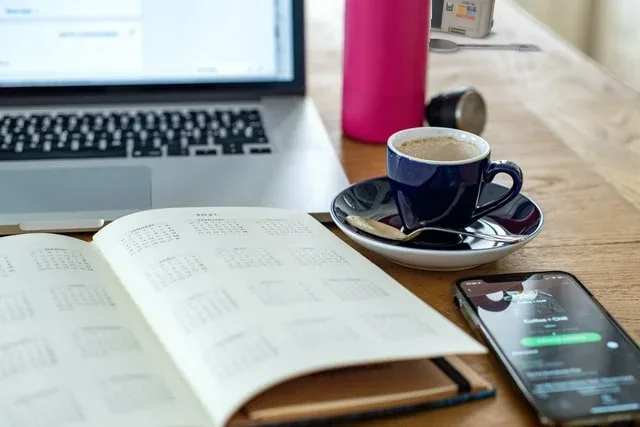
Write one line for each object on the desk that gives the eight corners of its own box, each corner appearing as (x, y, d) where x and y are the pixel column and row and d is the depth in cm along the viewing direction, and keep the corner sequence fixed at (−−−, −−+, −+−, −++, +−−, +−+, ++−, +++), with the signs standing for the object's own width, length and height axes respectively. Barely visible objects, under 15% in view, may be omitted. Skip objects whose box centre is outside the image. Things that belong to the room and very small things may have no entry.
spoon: (528, 44, 127) (528, 40, 127) (540, 55, 123) (541, 50, 122) (416, 43, 125) (416, 38, 125) (424, 54, 120) (425, 49, 120)
